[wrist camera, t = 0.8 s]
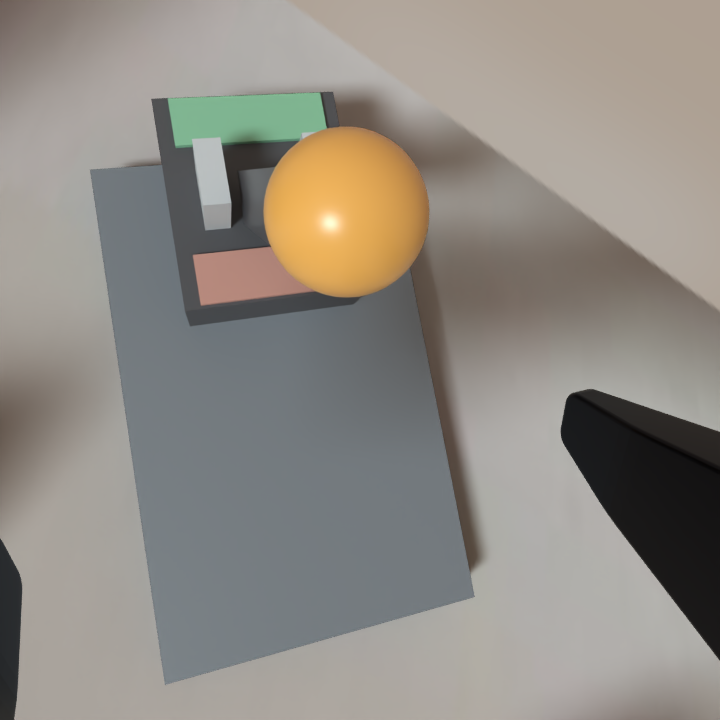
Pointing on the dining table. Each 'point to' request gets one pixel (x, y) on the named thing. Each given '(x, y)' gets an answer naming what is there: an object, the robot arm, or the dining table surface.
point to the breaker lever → (340, 211)
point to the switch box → (266, 407)
